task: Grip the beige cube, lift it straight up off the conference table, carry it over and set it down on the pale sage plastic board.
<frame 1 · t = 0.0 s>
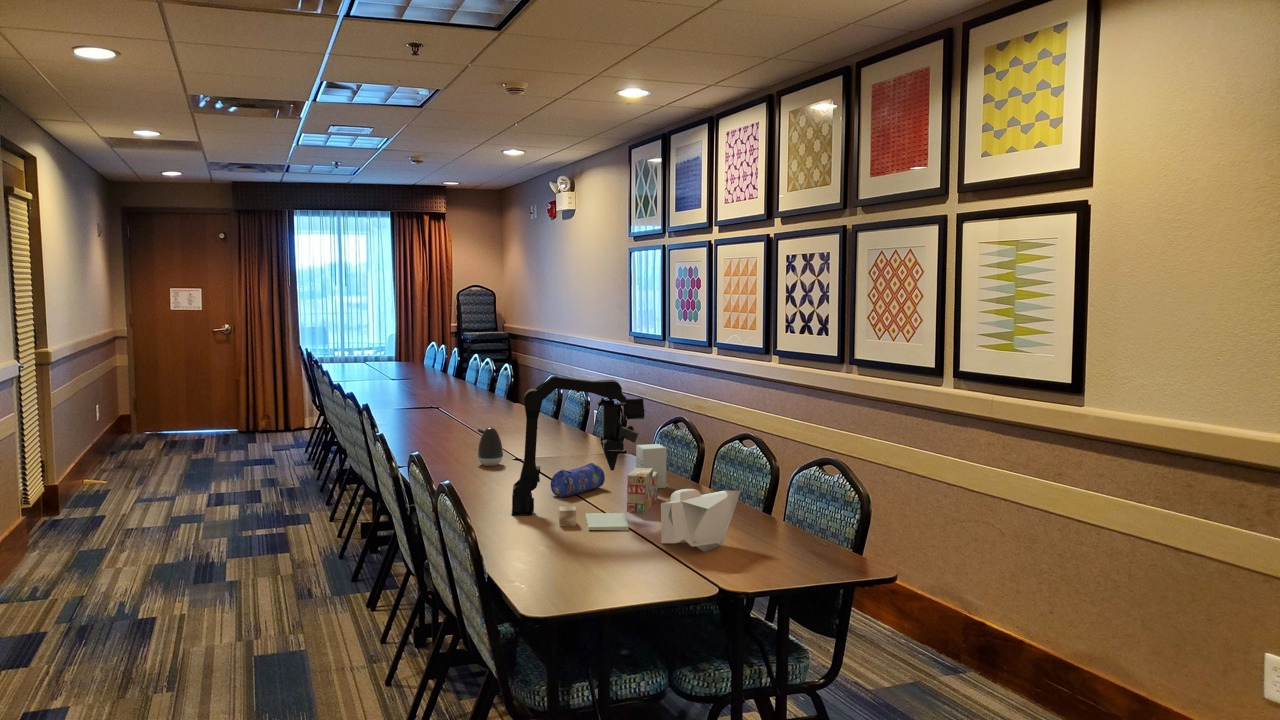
hand: (611, 467, 296), 15 cm above the table, tool pointing down, fingers open, 9 cm apart
pencil case: (577, 493, 325), on the table
supplement box: (650, 487, 336), on the table
folded paper: (705, 547, 260), on the table
sage board: (606, 523, 283), on the table
pump dispenser: (490, 465, 370), on the table
beige cube: (567, 524, 282), on the table
stack of blocks: (642, 505, 308), on the table
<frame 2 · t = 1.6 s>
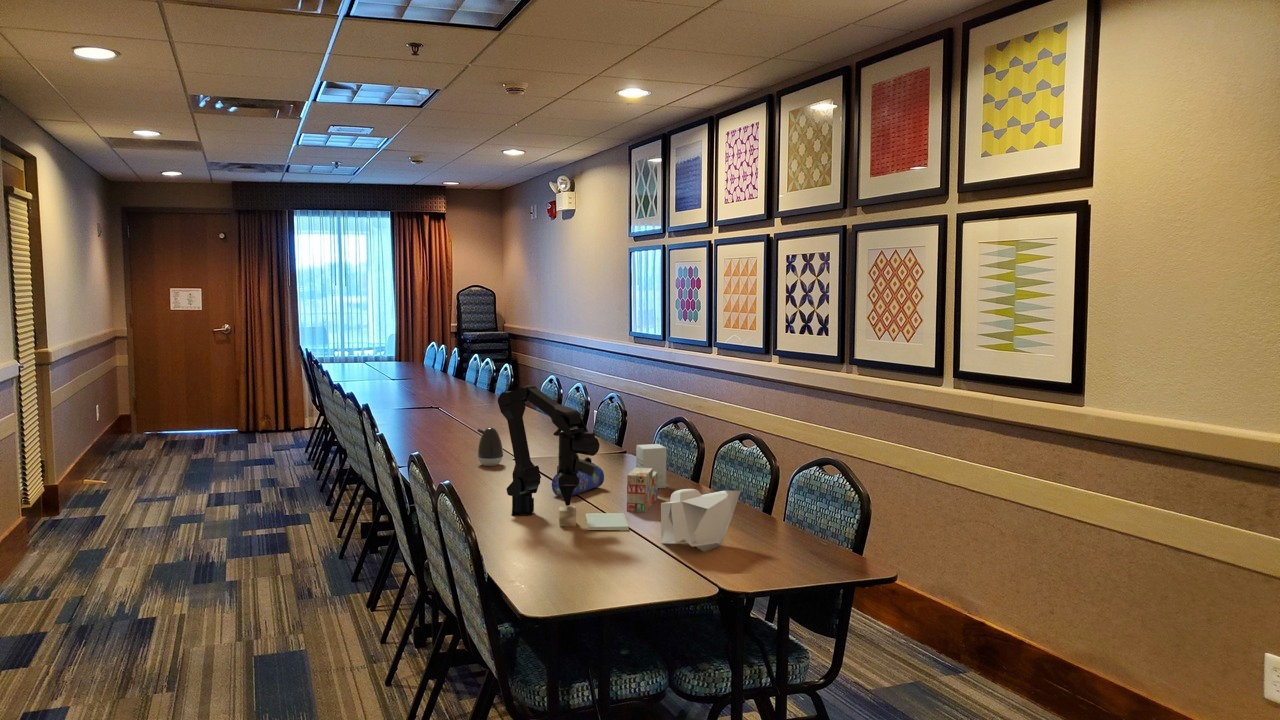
hand: (567, 501, 281), 7 cm above the table, tool pointing down, fingers open, 9 cm apart
nothing on the table moved.
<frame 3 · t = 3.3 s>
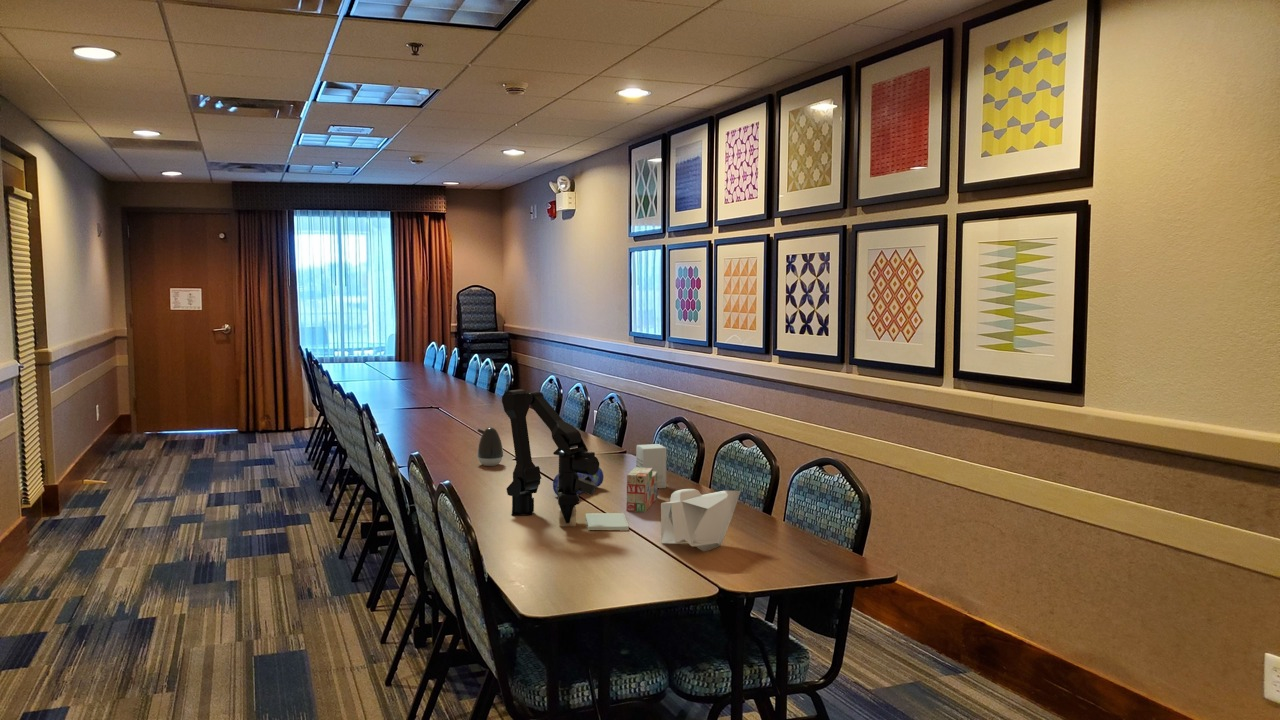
hand: (567, 520, 282), 1 cm above the table, tool pointing down, fingers closed on beige cube, 5 cm apart
beige cube: (567, 524, 282), on the table, touching gripper
everything else where it was.
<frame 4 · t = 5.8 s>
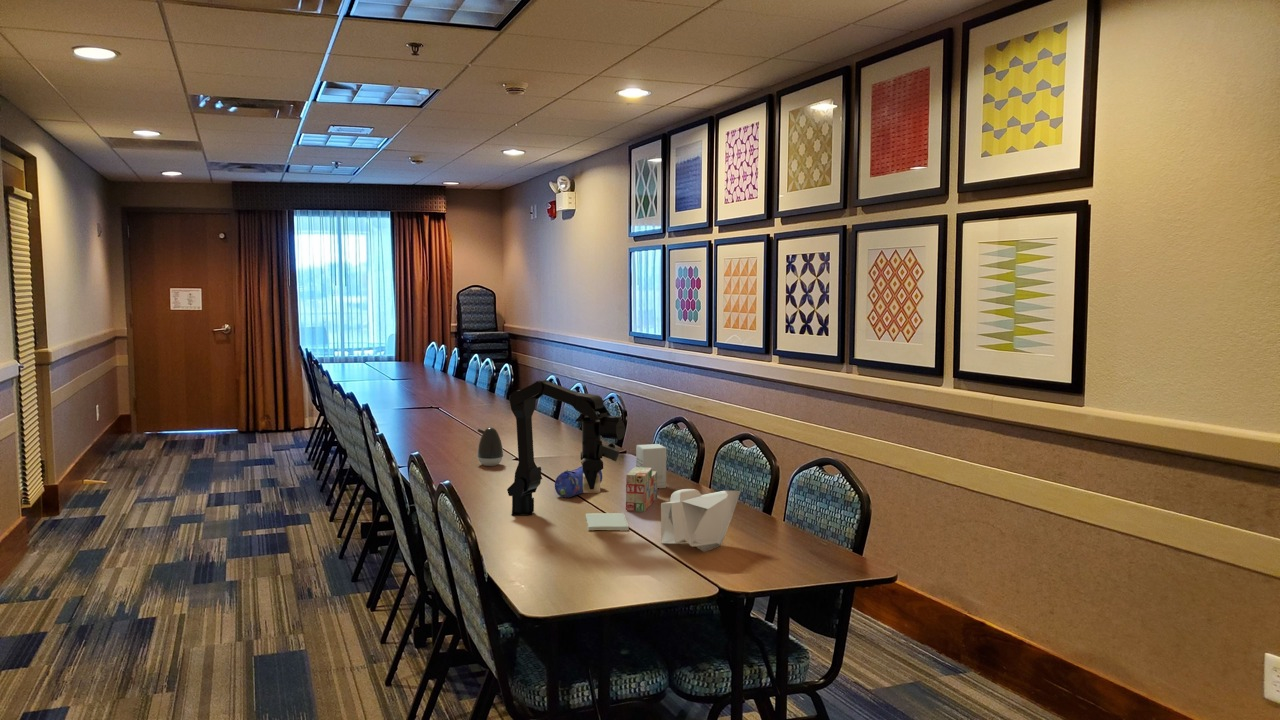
hand: (591, 487, 281), 11 cm above the table, tool pointing down, fingers closed on beige cube, 5 cm apart
beige cube: (591, 490, 281), point 10 cm above the table, touching gripper
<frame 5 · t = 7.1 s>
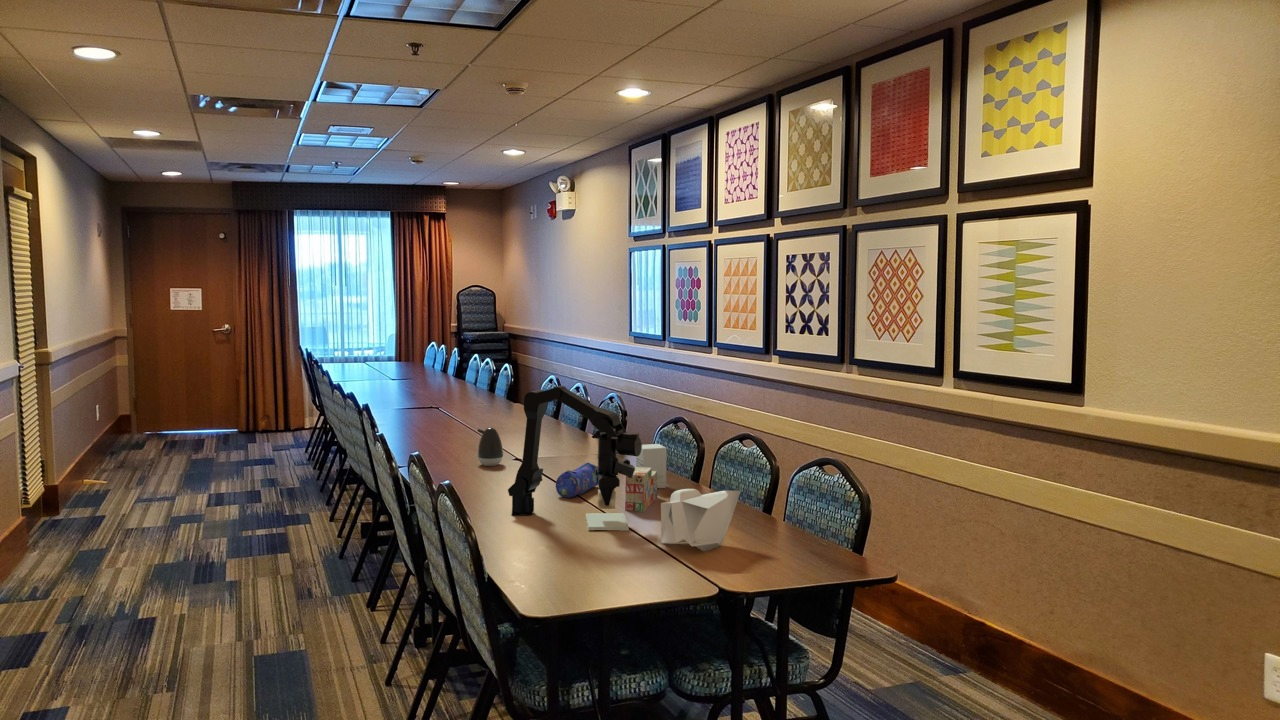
hand: (606, 503, 282), 6 cm above the table, tool pointing down, fingers closed on beige cube, 5 cm apart
beige cube: (606, 506, 283), point 5 cm above the table, touching gripper
when the fingers open (3 cm above the table, at t = 8.4 s): beige cube drops 1 cm, resting on sage board.
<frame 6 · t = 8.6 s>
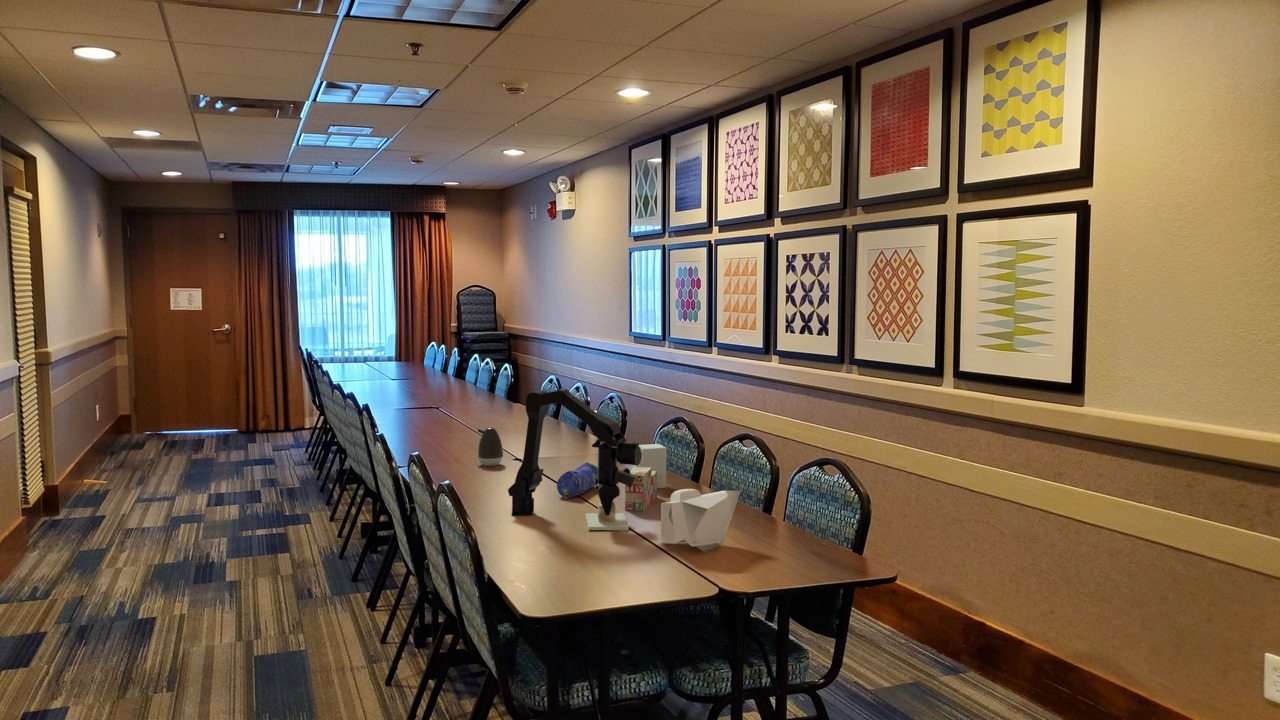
hand: (606, 512, 283), 3 cm above the table, tool pointing down, fingers open, 7 cm apart
beige cube: (606, 519, 283), point 1 cm above the table, touching sage board
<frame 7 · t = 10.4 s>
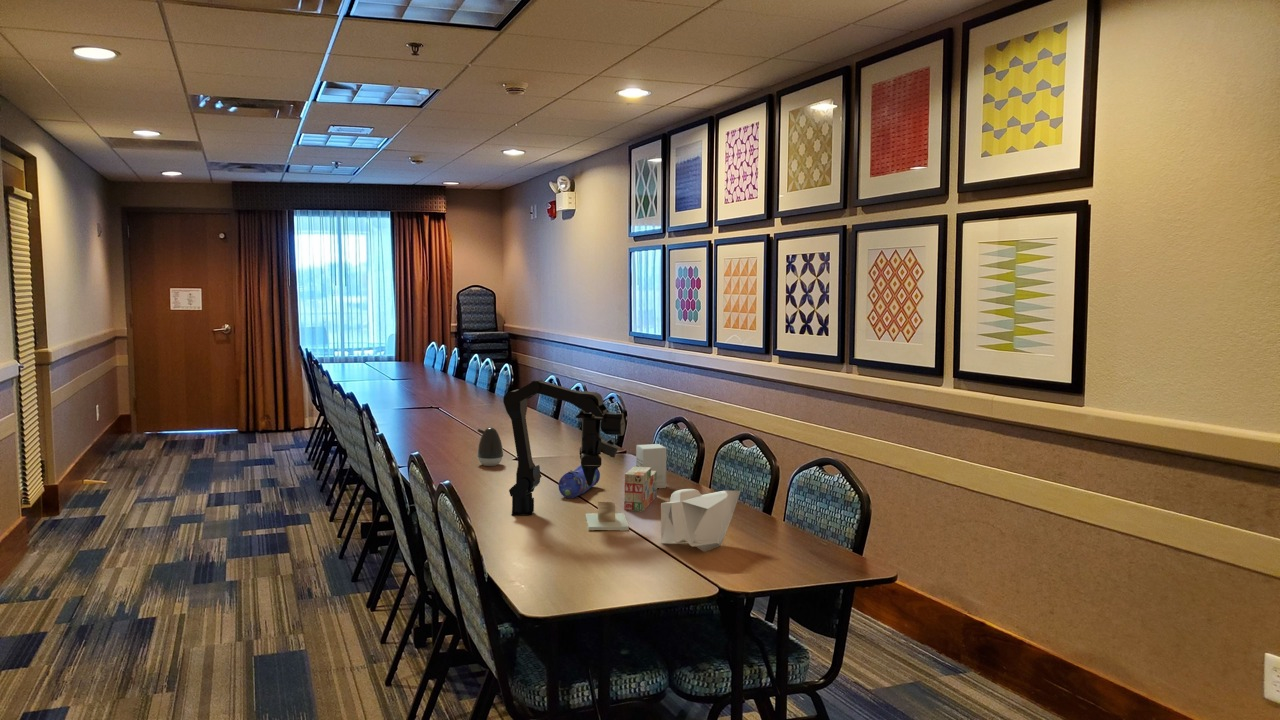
hand: (589, 482, 288), 11 cm above the table, tool pointing down, fingers open, 9 cm apart
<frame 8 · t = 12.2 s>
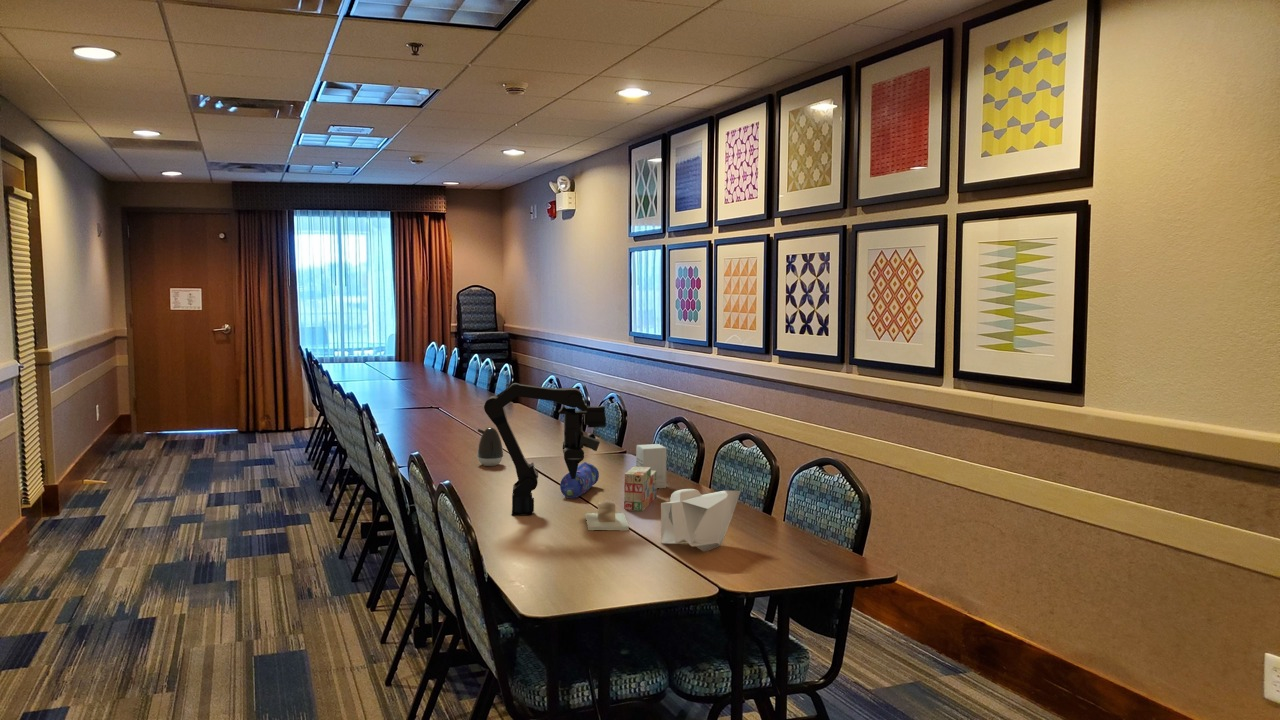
hand: (572, 475, 295), 12 cm above the table, tool pointing down, fingers open, 9 cm apart
at the end: beige cube inside the target area on the sage board (0.1 cm from its centre), point 1.2 cm above the sage board's base; beige cube tilted 0°; the gripper is holding nothing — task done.
